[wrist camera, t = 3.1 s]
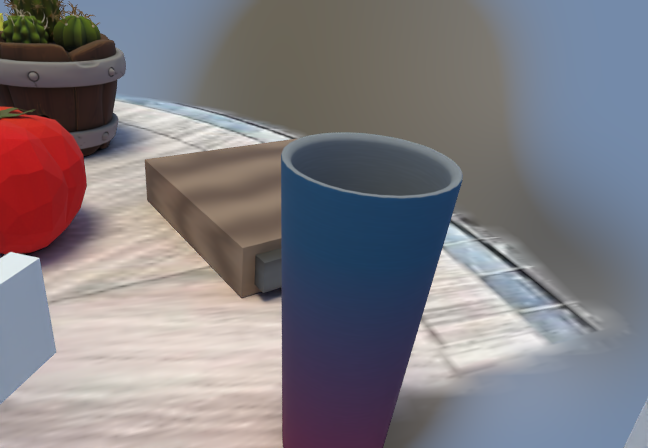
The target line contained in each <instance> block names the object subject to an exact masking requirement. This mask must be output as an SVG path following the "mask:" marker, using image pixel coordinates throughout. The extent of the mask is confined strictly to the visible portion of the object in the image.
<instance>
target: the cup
mask: <svg viewBox="0 0 648 448" xmlns="http://www.w3.org/2000/svg"><path fill="white" fill-rule="evenodd" d="M462 176H463V175H462V172H461V169H460V167H459V166H458V165H457V164H456V163H455V162H454V161H453V160H451V159H450V158H448V157H447V156H445V155H444V154H441V153H440V152H437V151H435V150H433V149H431V148H428V147H426V146H423V145H420V144H417V143H413V142H410V141H406V140H402V139H397V138H393V137H387V136H381V135H374V134H364V133H324V134H316V135H310V136H306V137H303V138H299V139H296V140H294V141H292V142H290V143H289V144H288V145H287V146H286V147H284V149H283V151H282V153H281V253H282V437H283V447H284V448H383V446H384V442H385V439H386V436H387V432H388V429H389V425H390V422H391V419H392V415H393V412H394V409H395V405H396V402H397V398H398V395H399V392H400V388H401V385H402V382H403V378H404V375H405V372H406V368H407V365H408V361H409V358H410V355H411V351H412V348H413V345H414V341H415V338H416V335H417V331H418V328H419V324H420V321H421V318H422V314H423V311H424V308H425V304H426V301H427V297H428V294H429V291H430V287H431V284H432V281H433V277H434V274H435V271H436V267H437V264H438V260H439V257H440V254H441V250H442V247H443V244H444V240H445V237H446V234H447V230H448V227H449V223H450V220H451V217H452V213H453V210H454V207H455V203H456V200H457V196H458V193H459V190H460V186H461V183H462Z"/></svg>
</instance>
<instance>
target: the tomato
mask: <svg viewBox="0 0 648 448" xmlns="http://www.w3.org/2000/svg"><path fill="white" fill-rule="evenodd" d="M19 110H22V109H18V108H14V107H1V106H0V253H2V254H5V255H6V254H8V253H10V252H13V253H18V254H23V253H32V252H34V251H37V250H39V249H42V248H45V247H47V246H48V245H49V244H51V243H52V242H53V241H54V240H55V239H56V238H57V237H58V236H59V235H60V234H61V233H62V232H63V231H64V230H65V229H66V228H67V227H68V226H69V225H70V224H71V222H72V220H73V219H74V217H75V216H76V214H77V213H78V211H79V210H80V208H81V204H82V201H83V197H84V194H85V190H86V187H87V183H86V173H85V165H84V157H83V154H82V152H81V150H80V148H79V146H78V144H77V142H76V140H75V139H74V137H73V136H72V135H71V134H70V133H69V132H68V131H67V130H66V129H65V128H64V127H62V126H61V125H60V124H59V123H58V122H57V121H56V120H53V119H49V118H45V117H41V116H37V115H27V114H25V113H27V112H33V111H32V110H30V111H26V112H24V113H23V112H21V111H19ZM22 111H25V110H22Z"/></svg>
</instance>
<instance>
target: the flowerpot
mask: <svg viewBox="0 0 648 448" xmlns="http://www.w3.org/2000/svg"><path fill="white" fill-rule="evenodd" d="M7 1H8V0H7ZM10 1H11V2H9V1H8V2H9V3H10V4H9V5H12V6H11V7H12V9H14V14H13V13H12V14H11V13H10V12H9V13H10V14H11V15H10V16H9V15H7V14H6V16H8V17H7V19H8V20H7V21H4V22H3V20H2V15H3V14H2V15H1V20H2V22H3V26H2V28H3V31H0V106H1V107H14V108H18V109H22V110H25V111H22V110H19V111H21V112H23V113H24V112H26V111H30V110H32V111H33V112H27V113H25V114H27V115H37V116H41V117H45V118H49V119H53V120H56V121H57V122H58V123H59V124H60V125H61V126H62V127H64V128H65V129H66V130H67V131H68V132H69V133H70V134H71V135H72V136H73V137H74V139H75V140H76V142H77V144H78V146H79V148H80V150H81V152H82V154H83V156H87V155H91V154H93V153H94V152H95V151H96V150H97V149H98V148H102V149H104V148H107V147H108V145H109V143H110V140H111V139H112V138H113V137H114V136H115V134H116V130H117V124H118V117H117V116H116V114H114V113H113V108H114V102H115V96H116V89H117V79H119V78H121V77H122V76H123V75H124V74H125V70H126V63H125V58H124V54H123V52H122V51H121V50H120V49H117V48H115V43H114V41H112V40H109V39H108V38H107V37H106V36H105V35H103V34H101V33H100V31H99V30H98V27H97V26H96V25H97V24H96V25H95V24H94V23H93V22H92V21H91V20H89V19H90V18H89V16H93V15H89V16H86V14H85V15H84V14H83V13H82V11H80V13H79V15H80V14H81V13H82V14H83V15H84V17H83V16H79V15H76V8H77V7H73V5H72V4H71V5H72V6H71V7H72V8H73V11H72V14H70V16H66V17H65V13H68V12H65V11H64V8H63V10H62V11H63V12H65V13H62V14H64V15H63V16H64V17H63V16H60V14H61V12H62V11H61V12H60V10H59V7H60V6H62V5H61V4H60V3H61V2H62V1H61V2H60V1H58V0H10ZM58 2H59V3H58ZM62 3H63V2H62ZM59 5H60V6H59ZM69 5H70V4H69ZM6 6H8V5H6ZM58 6H59V7H58ZM65 6H66V5H65ZM74 8H75V10H74ZM12 9H11V10H12ZM70 13H71V12H70ZM73 13H74V15H73ZM62 14H61V15H62ZM82 14H81V15H82ZM60 17H61V18H62V19H61V20H60ZM87 17H88V18H89V19H87ZM98 24H99V23H98Z"/></svg>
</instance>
